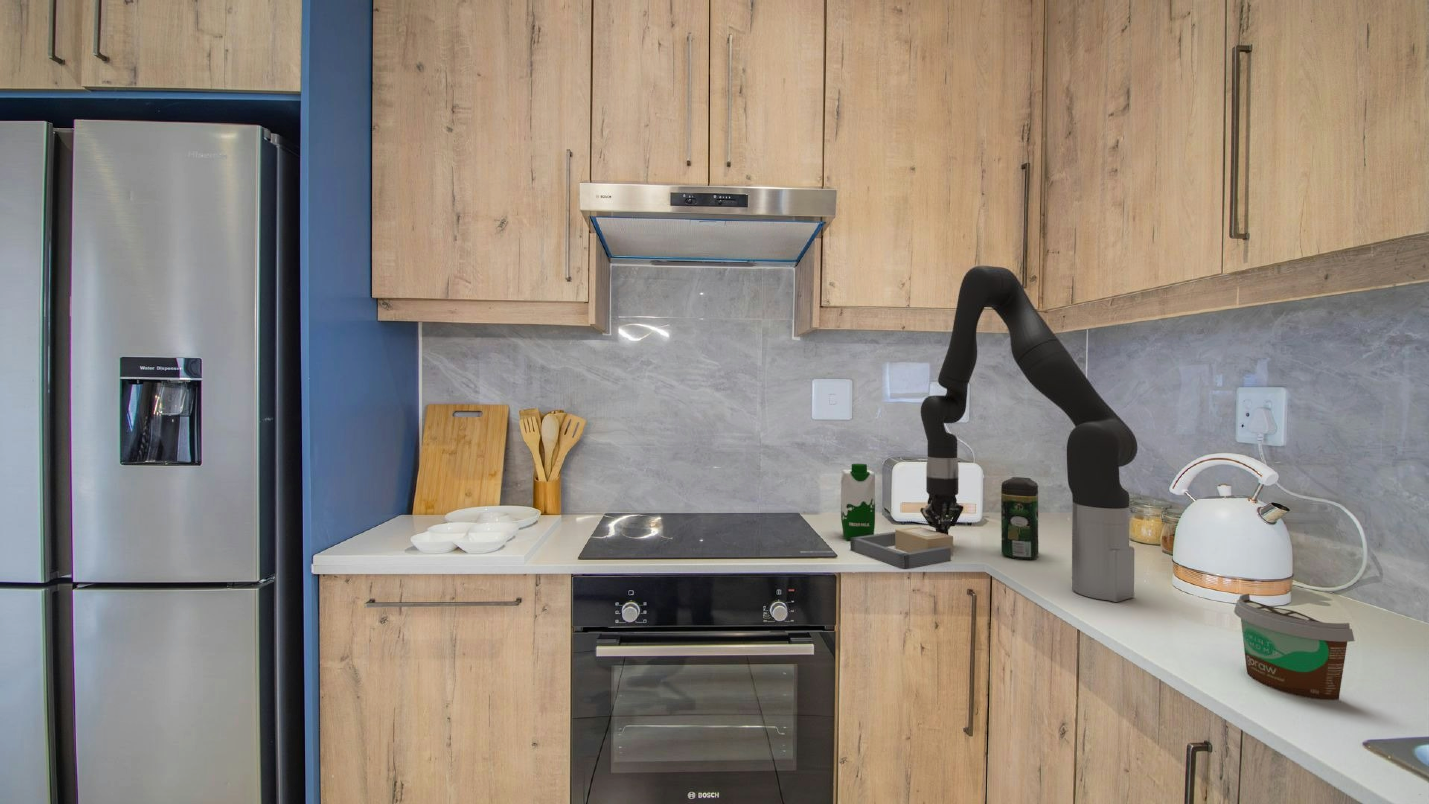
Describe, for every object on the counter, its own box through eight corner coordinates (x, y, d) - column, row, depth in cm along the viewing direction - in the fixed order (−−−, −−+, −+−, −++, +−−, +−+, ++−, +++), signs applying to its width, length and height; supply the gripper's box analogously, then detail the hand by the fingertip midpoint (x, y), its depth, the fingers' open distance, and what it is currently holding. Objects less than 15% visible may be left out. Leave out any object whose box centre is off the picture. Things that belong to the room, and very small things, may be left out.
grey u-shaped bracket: (950, 560, 136) (950, 547, 136) (904, 568, 130) (904, 555, 130) (894, 543, 152) (894, 531, 152) (850, 549, 146) (850, 537, 146)
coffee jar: (1003, 548, 147) (1003, 474, 147) (1039, 552, 143) (1039, 476, 143) (998, 557, 139) (998, 479, 139) (1036, 562, 135) (1037, 481, 135)
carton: (953, 557, 141) (953, 535, 141) (927, 560, 138) (927, 538, 138) (919, 546, 151) (920, 526, 151) (895, 549, 148) (895, 529, 148)
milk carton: (843, 541, 154) (843, 465, 154) (839, 533, 163) (839, 461, 163) (877, 542, 153) (877, 465, 153) (871, 534, 162) (871, 461, 162)
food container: (1210, 665, 83) (1211, 595, 83) (1243, 661, 85) (1244, 592, 85) (1317, 711, 71) (1318, 629, 71) (1354, 705, 73) (1354, 624, 73)
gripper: (934, 478, 141) (934, 550, 141) (973, 475, 147) (973, 544, 147) (911, 474, 148) (911, 543, 148) (949, 471, 154) (949, 537, 154)
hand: (942, 543), depth 148 cm, fingers closed
